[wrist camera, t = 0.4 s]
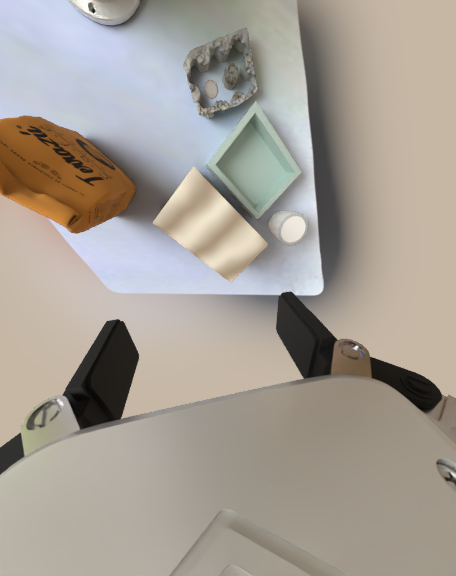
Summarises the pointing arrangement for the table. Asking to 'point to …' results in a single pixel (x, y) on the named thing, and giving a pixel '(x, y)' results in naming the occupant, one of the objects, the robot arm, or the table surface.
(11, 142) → the coffee package
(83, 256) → the table surface
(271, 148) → the tray
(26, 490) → the robot arm
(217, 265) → the beige wooden block
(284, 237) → the shot glass
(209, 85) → the egg carton
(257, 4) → the table surface
